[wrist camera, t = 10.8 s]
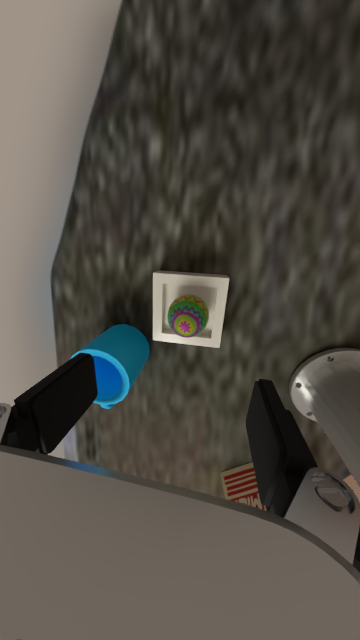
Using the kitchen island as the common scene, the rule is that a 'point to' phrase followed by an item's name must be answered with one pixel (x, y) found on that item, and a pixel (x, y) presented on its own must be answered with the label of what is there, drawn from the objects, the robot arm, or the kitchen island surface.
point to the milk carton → (242, 486)
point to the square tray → (186, 283)
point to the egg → (188, 316)
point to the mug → (117, 361)
